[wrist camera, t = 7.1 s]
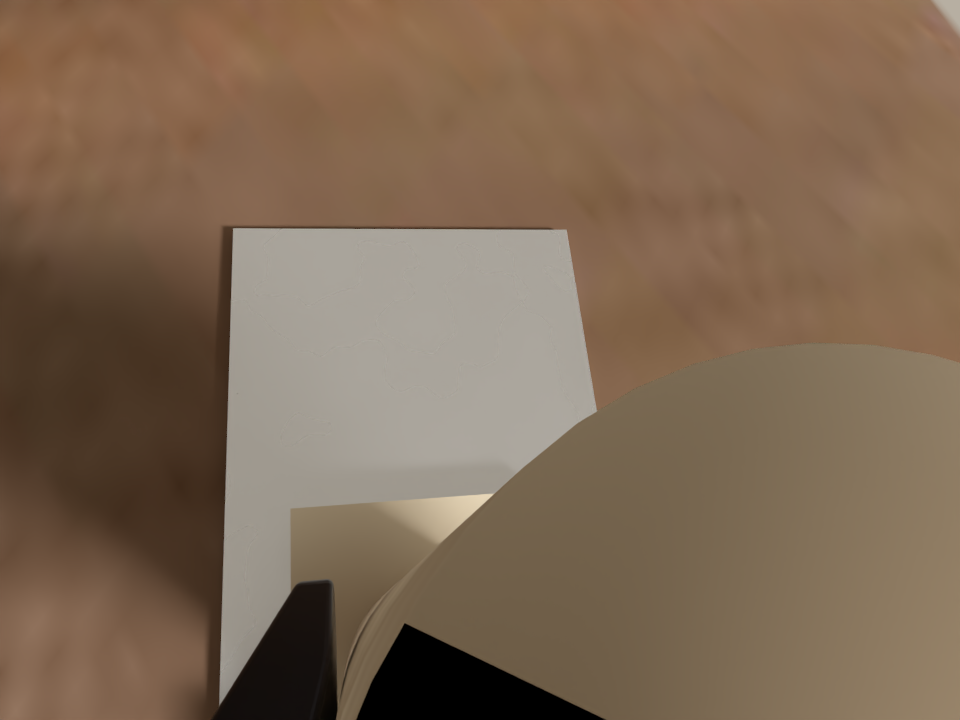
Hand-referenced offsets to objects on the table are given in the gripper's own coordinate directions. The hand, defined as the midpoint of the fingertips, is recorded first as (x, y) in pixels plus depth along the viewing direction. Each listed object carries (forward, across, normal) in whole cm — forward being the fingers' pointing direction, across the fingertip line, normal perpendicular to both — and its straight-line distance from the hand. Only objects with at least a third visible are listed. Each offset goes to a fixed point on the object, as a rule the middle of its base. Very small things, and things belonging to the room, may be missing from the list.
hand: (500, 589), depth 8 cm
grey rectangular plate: (+9, 0, +2) cm, 9 cm away
